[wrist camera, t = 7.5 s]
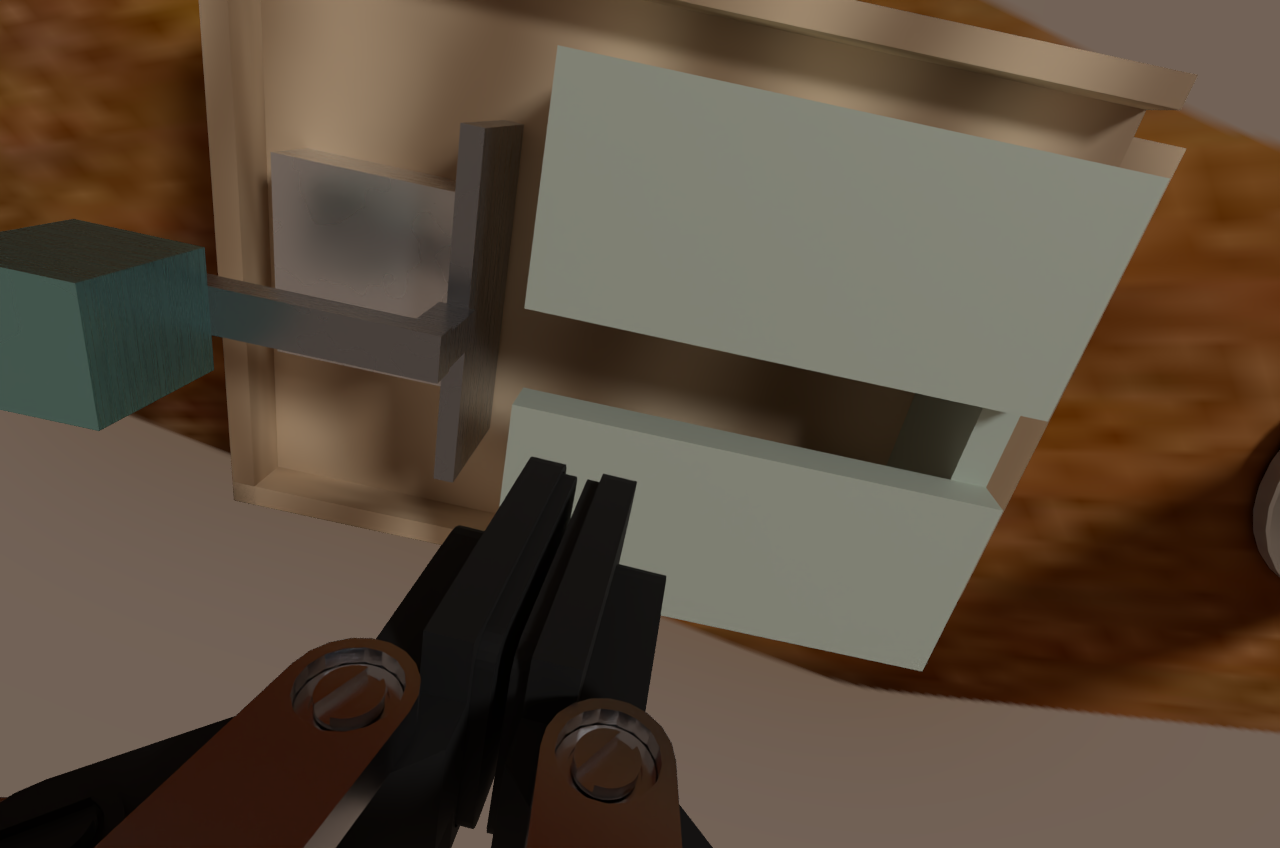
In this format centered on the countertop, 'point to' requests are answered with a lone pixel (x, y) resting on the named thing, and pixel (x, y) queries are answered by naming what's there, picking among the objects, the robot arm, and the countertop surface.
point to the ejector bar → (249, 313)
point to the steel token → (361, 233)
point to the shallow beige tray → (521, 92)
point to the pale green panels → (813, 334)
